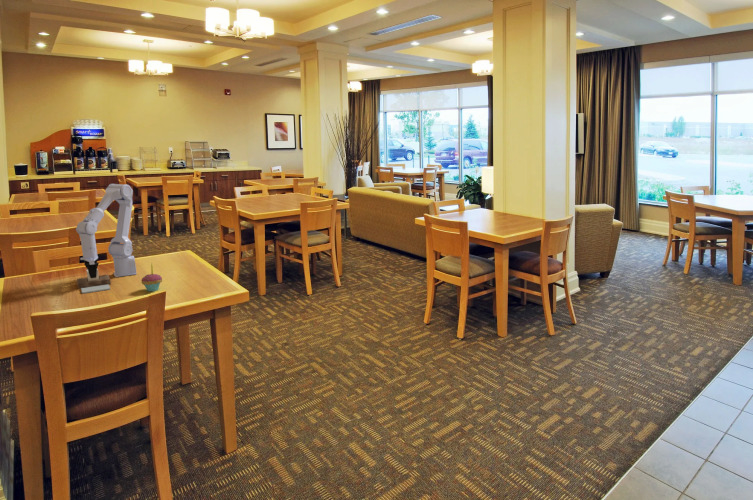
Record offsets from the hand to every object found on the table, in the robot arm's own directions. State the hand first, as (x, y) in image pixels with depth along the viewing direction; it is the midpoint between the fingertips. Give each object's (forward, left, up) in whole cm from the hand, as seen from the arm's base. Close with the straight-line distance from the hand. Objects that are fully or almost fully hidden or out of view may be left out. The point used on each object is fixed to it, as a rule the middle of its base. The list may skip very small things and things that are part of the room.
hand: (93, 276), depth 235 cm
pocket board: (0, 0, -4) cm, 4 cm away
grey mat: (0, +9, -4) cm, 10 cm away
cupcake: (-22, +23, -4) cm, 32 cm away
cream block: (0, 0, -4) cm, 4 cm away
